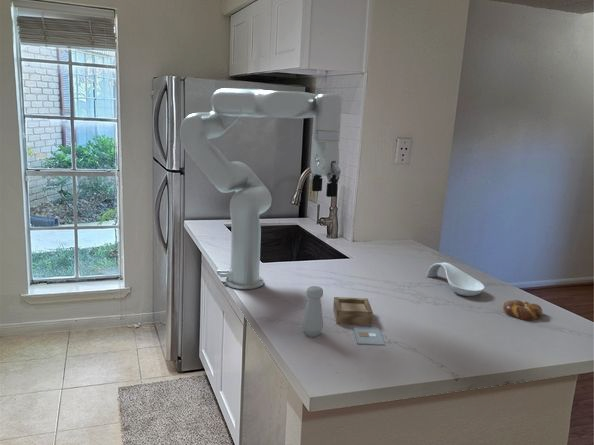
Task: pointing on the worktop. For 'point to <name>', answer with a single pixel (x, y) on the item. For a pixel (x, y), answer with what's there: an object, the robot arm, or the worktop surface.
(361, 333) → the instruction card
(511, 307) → the pretzel
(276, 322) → the worktop surface
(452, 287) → the spoon rest
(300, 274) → the worktop surface
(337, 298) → the wooden crate
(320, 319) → the salt shaker
